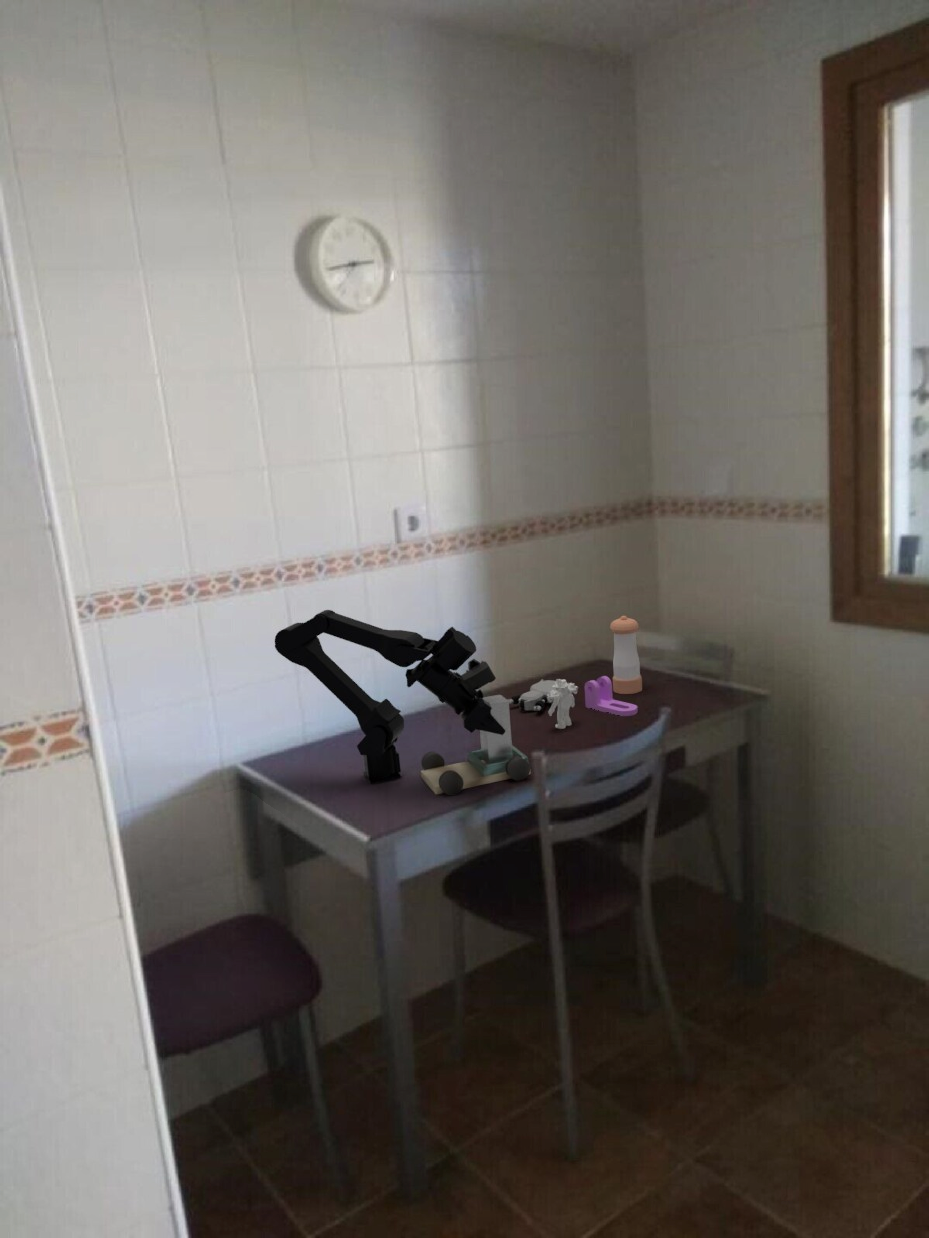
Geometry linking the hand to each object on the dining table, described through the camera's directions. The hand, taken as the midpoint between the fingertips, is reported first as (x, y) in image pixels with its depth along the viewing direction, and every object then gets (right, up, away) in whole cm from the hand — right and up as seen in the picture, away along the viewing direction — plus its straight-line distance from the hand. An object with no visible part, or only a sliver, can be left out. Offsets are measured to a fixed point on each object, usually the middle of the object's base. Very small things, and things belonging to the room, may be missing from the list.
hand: (501, 728), depth 193 cm
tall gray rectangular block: (-1, -7, +1) cm, 7 cm away
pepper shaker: (+34, +4, +48) cm, 59 cm away
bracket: (+28, 0, +34) cm, 44 cm away
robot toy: (+12, +1, +42) cm, 44 cm away
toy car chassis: (-5, -10, 0) cm, 11 cm away
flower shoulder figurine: (+15, -2, +25) cm, 30 cm away
